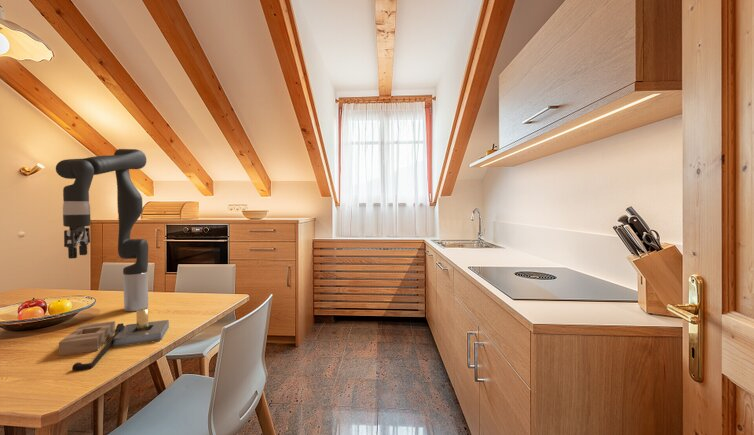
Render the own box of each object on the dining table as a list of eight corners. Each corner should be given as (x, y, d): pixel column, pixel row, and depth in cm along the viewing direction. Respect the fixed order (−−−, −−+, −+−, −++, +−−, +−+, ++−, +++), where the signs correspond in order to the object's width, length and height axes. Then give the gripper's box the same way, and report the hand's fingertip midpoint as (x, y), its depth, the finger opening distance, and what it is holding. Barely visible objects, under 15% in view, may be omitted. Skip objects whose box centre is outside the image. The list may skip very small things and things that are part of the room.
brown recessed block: (82, 336, 121) (82, 324, 121) (115, 332, 125) (115, 321, 125) (59, 356, 106) (58, 342, 106) (97, 350, 110) (97, 337, 109)
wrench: (70, 378, 96) (111, 333, 124) (91, 376, 98) (127, 332, 126) (70, 361, 96) (111, 320, 123) (92, 360, 97) (127, 319, 125)
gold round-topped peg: (138, 335, 123) (137, 309, 122) (150, 333, 124) (149, 308, 124) (135, 339, 119) (135, 312, 119) (147, 337, 121) (146, 311, 120)
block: (126, 332, 125) (126, 324, 125) (168, 327, 131) (168, 319, 131) (113, 347, 113) (113, 338, 112) (161, 340, 118) (160, 332, 118)
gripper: (81, 214, 115) (82, 259, 116) (97, 213, 129) (98, 253, 129) (53, 214, 112) (55, 260, 113) (73, 213, 126) (74, 254, 126)
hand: (78, 256), depth 121 cm, fingers open, 8 cm apart
